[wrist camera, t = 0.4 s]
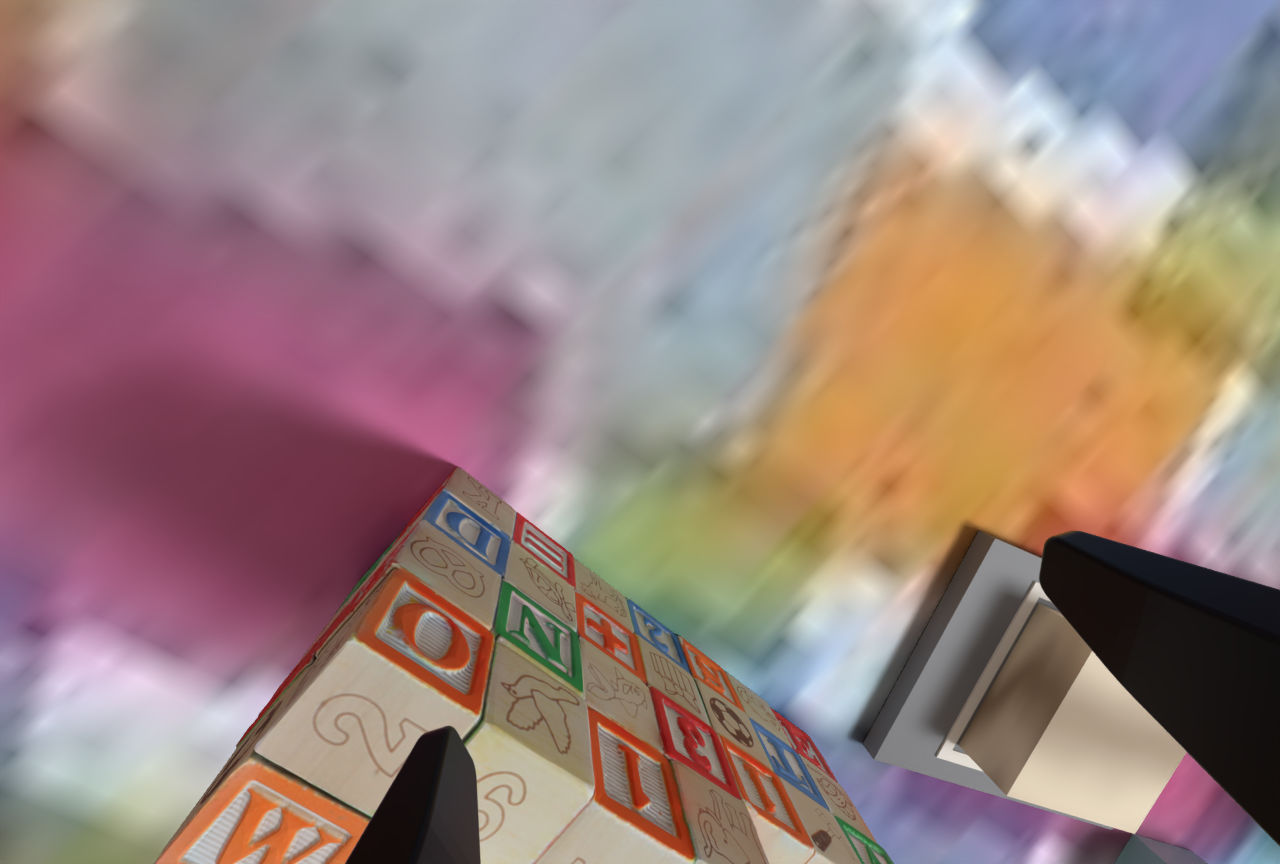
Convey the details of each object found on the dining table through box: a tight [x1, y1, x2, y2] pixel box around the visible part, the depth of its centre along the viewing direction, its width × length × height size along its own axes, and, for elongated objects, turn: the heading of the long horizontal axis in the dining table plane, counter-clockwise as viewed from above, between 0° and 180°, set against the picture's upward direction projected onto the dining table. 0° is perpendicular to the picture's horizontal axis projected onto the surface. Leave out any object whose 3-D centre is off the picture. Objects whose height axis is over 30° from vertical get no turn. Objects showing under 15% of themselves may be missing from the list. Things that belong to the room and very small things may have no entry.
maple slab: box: [959, 604, 1186, 834], centre depth 27 cm, size 8×8×3 cm
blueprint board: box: [863, 530, 1113, 830], centre depth 28 cm, size 12×16×1 cm
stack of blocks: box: [154, 467, 894, 864], centre depth 19 cm, size 21×6×12 cm, turn 48°
